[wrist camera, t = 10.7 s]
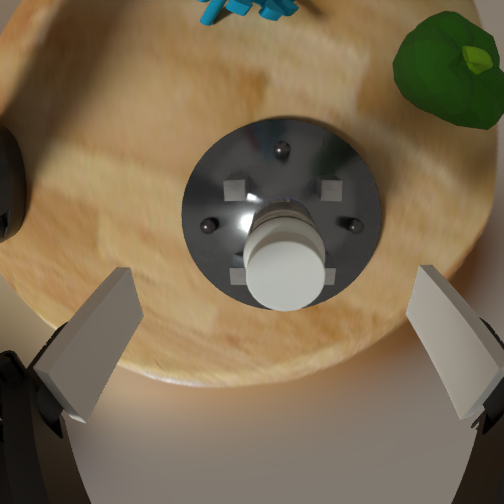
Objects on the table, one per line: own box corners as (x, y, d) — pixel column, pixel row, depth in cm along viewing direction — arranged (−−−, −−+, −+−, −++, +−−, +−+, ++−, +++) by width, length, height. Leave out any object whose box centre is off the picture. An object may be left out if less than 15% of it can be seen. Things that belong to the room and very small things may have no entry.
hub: (196, 303, 26) (187, 323, 23) (176, 126, 19) (160, 126, 16) (364, 303, 24) (373, 324, 21) (382, 126, 18) (399, 126, 15)
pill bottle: (299, 261, 22) (309, 327, 14) (243, 242, 22) (226, 302, 14) (322, 207, 20) (349, 253, 12) (263, 186, 20) (255, 219, 12)
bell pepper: (460, 59, 14) (533, 44, 5) (453, 137, 17) (535, 153, 8) (380, 20, 14) (437, -30, 5) (371, 104, 17) (441, 88, 8)
